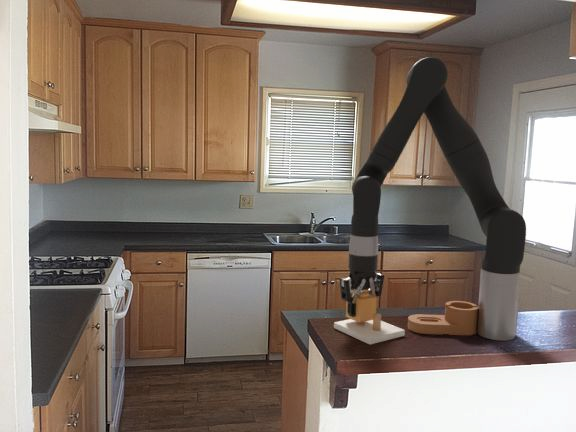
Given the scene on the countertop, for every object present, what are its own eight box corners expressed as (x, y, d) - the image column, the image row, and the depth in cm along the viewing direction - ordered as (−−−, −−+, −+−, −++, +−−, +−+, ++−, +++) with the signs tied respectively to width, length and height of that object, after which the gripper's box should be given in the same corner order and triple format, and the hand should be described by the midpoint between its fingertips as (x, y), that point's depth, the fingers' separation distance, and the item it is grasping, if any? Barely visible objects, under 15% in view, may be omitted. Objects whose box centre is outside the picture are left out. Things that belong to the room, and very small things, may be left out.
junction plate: (367, 320, 144) (368, 301, 144) (404, 335, 133) (405, 314, 132) (333, 327, 138) (334, 307, 137) (369, 344, 126) (370, 322, 125)
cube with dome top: (361, 313, 141) (362, 288, 140) (375, 319, 137) (376, 293, 136) (345, 316, 138) (346, 291, 137) (359, 322, 133) (360, 296, 133)
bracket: (471, 325, 142) (473, 301, 141) (480, 336, 134) (482, 310, 133) (405, 323, 143) (406, 299, 142) (410, 334, 135) (411, 308, 134)
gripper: (352, 257, 128) (349, 322, 130) (393, 252, 136) (390, 314, 138) (333, 251, 134) (330, 314, 136) (373, 247, 142) (371, 306, 144)
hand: (360, 314), depth 137 cm, fingers closed on cube with dome top, 5 cm apart
